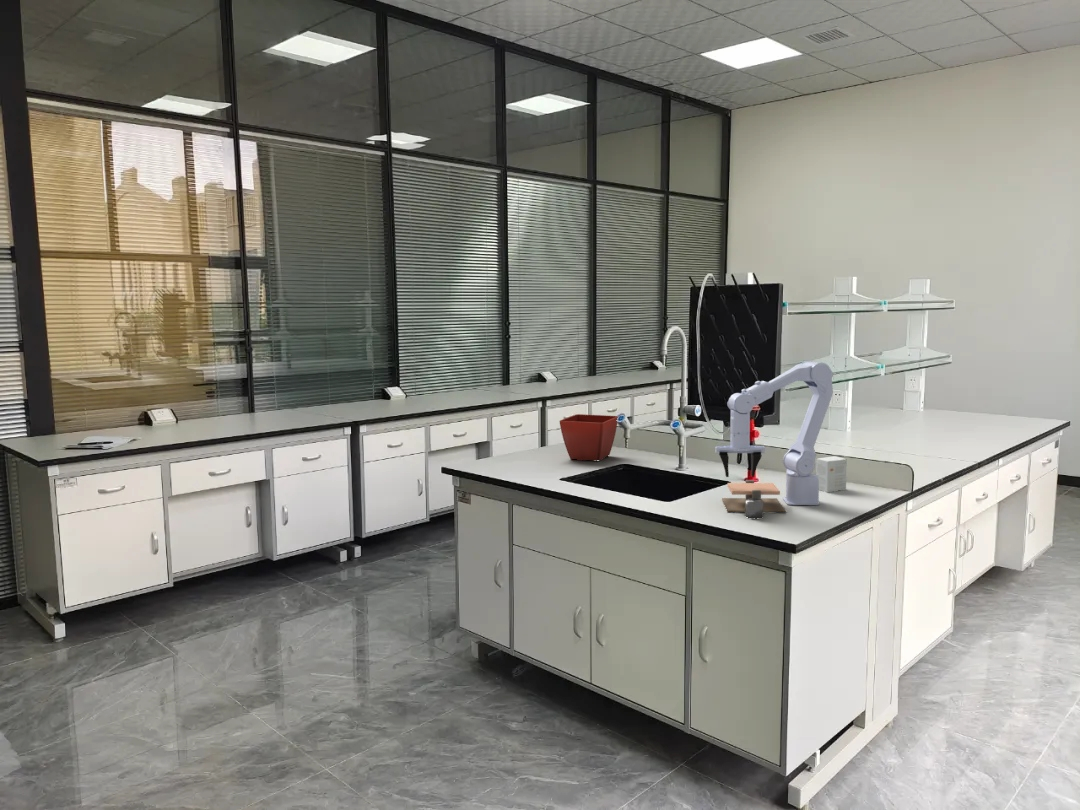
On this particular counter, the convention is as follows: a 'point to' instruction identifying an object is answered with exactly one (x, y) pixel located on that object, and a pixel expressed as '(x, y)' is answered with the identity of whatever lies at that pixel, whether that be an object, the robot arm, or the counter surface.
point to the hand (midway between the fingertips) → (739, 476)
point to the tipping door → (753, 488)
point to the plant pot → (588, 435)
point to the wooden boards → (739, 503)
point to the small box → (831, 473)
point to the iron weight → (754, 508)
